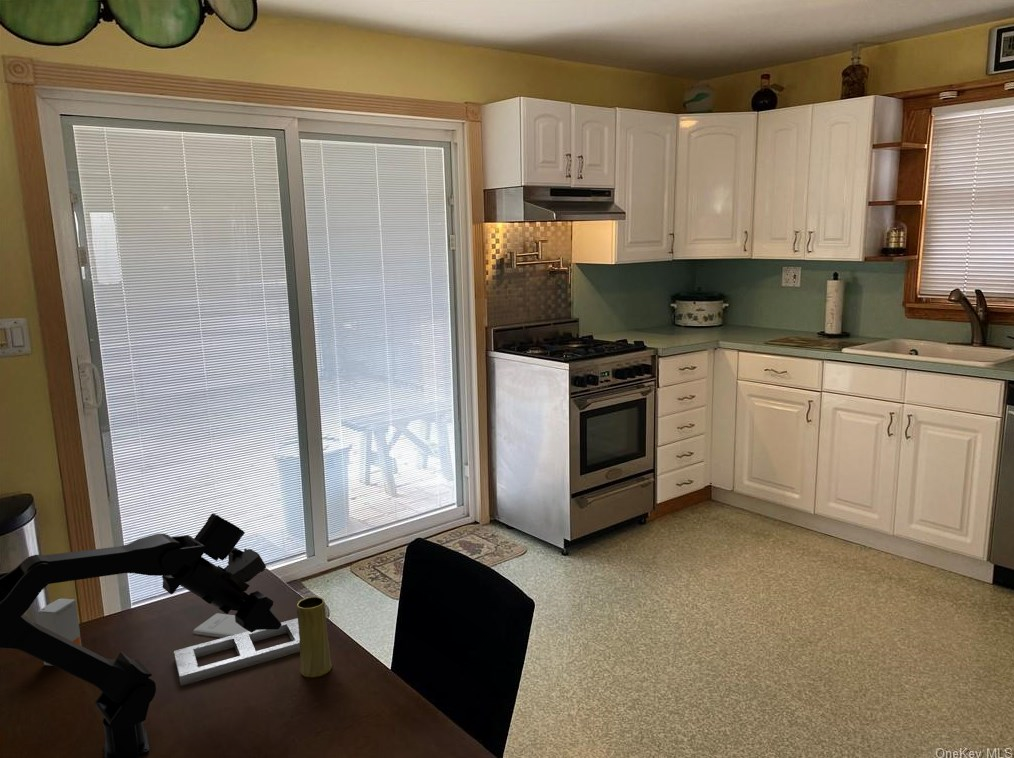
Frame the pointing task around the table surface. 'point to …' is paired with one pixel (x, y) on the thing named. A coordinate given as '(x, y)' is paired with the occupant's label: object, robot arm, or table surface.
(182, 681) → the grey flat frame
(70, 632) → the skincare box
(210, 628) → the external hard drive
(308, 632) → the vase
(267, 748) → the table surface
